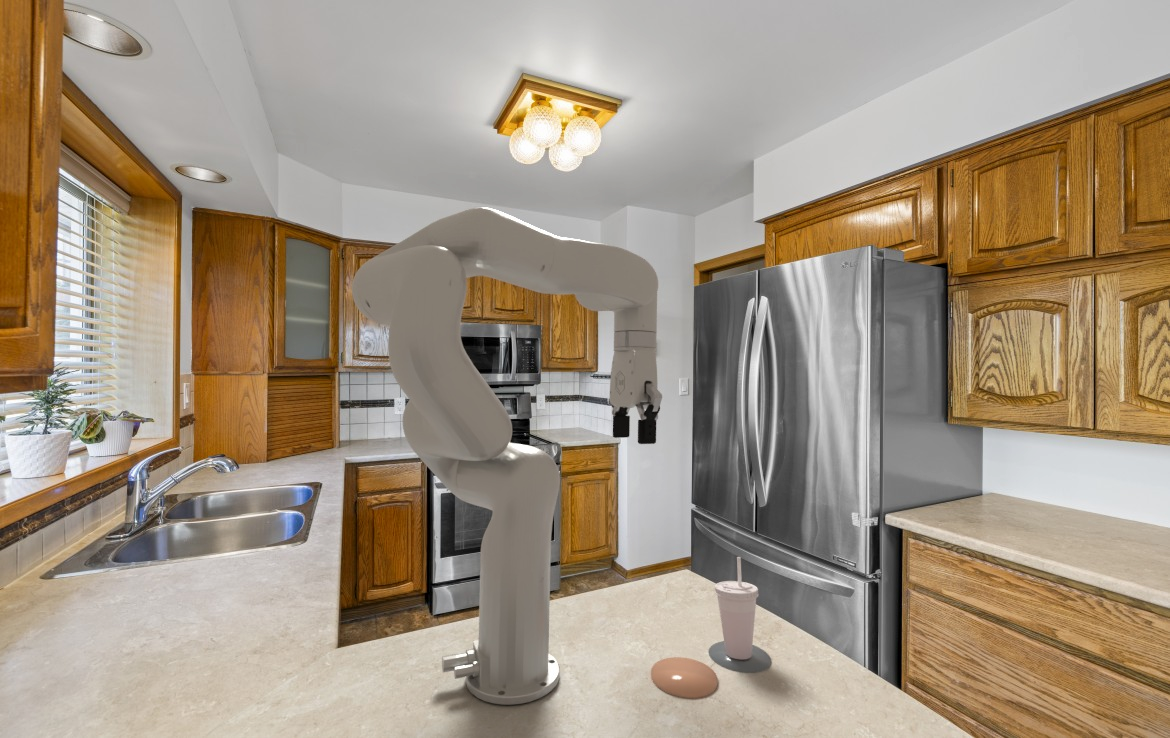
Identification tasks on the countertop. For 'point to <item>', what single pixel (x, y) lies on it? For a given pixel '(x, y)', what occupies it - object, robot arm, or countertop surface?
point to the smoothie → (737, 615)
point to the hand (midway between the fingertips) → (633, 440)
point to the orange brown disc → (684, 677)
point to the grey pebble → (751, 665)
